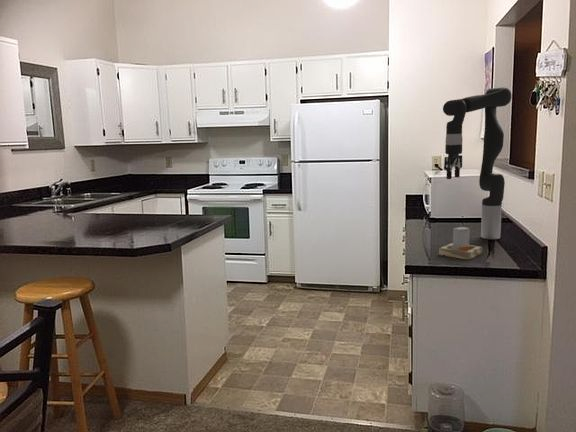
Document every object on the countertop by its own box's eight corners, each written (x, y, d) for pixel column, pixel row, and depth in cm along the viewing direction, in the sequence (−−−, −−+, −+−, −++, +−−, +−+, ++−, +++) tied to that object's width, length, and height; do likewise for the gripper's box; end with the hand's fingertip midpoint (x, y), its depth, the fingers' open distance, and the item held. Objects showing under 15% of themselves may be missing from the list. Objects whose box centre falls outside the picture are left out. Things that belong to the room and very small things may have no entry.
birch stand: (452, 248, 232) (452, 242, 232) (482, 253, 223) (482, 246, 222) (438, 254, 223) (439, 248, 222) (469, 259, 213) (469, 252, 212)
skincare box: (457, 255, 220) (458, 229, 218) (452, 253, 224) (452, 227, 222) (469, 254, 222) (470, 228, 220) (463, 252, 226) (464, 226, 224)
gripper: (453, 143, 237) (452, 176, 240) (439, 144, 227) (438, 179, 230) (468, 143, 232) (467, 177, 235) (454, 144, 222) (453, 179, 225)
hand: (453, 178), depth 232 cm, fingers open, 8 cm apart
